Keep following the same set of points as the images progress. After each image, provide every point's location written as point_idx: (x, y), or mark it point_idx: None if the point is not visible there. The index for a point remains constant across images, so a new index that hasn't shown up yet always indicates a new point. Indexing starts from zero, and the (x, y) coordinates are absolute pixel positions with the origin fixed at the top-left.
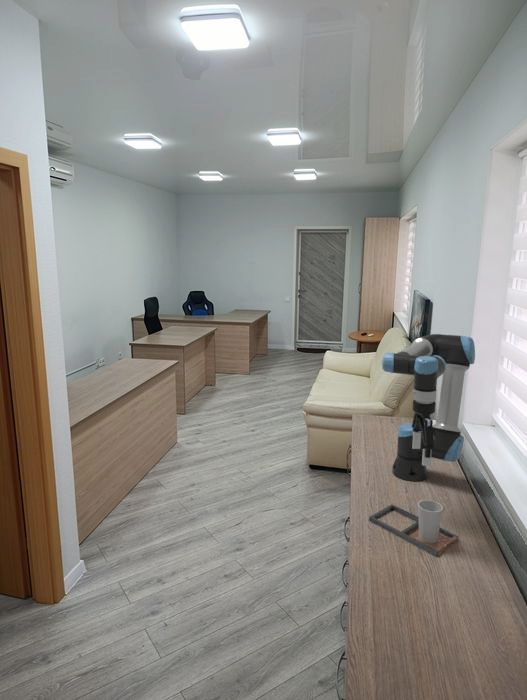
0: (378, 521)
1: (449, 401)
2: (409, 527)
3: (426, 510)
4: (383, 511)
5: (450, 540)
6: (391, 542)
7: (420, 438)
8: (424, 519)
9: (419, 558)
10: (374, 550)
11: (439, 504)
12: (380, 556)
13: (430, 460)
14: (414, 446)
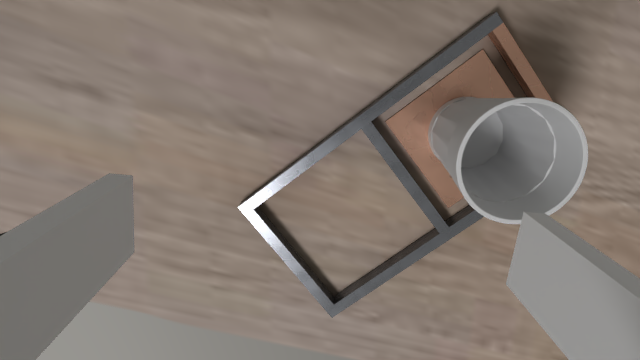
0: (366, 293)
1: None
2: (414, 192)
3: (564, 202)
4: (292, 255)
5: (520, 61)
6: (471, 270)
7: (61, 229)
8: (527, 188)
9: (572, 207)
10: (507, 334)
11: (511, 104)
12: None
13: (576, 241)
14: (122, 248)
